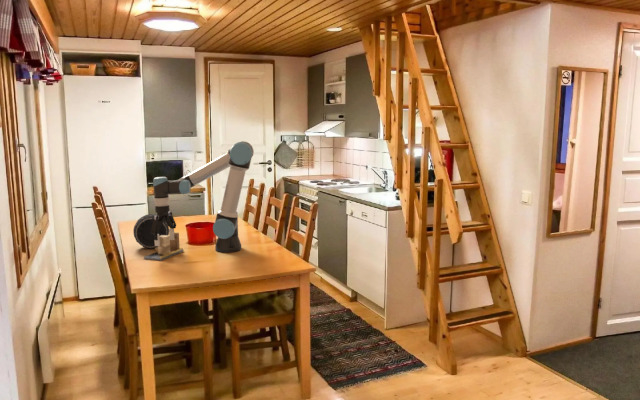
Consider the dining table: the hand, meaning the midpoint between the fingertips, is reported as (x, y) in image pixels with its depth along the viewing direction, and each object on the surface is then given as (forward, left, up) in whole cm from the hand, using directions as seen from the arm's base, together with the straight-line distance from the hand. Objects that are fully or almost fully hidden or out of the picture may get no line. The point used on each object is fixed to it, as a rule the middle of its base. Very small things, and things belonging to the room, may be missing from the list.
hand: (164, 242), depth 281 cm
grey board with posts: (+2, -1, -8) cm, 8 cm away
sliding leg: (+2, 0, -6) cm, 7 cm away
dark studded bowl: (+19, -14, -8) cm, 25 cm away
